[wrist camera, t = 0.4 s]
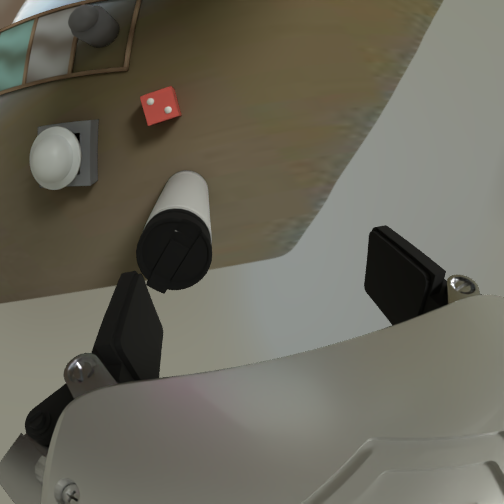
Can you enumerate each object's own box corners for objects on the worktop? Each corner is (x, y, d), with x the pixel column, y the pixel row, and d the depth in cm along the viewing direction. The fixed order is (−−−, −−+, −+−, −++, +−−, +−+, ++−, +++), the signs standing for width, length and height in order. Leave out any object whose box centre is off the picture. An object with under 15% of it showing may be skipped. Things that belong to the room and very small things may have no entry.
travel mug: (155, 200, 38) (121, 274, 21) (179, 161, 37) (156, 206, 19) (192, 221, 41) (186, 306, 23) (216, 184, 39) (228, 247, 21)
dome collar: (47, 125, 29) (37, 126, 27) (98, 119, 31) (90, 120, 29) (48, 182, 34) (39, 187, 31) (97, 180, 35) (90, 185, 33)
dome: (42, 128, 28) (16, 133, 22) (91, 122, 30) (69, 125, 24) (44, 183, 32) (19, 198, 26) (91, 181, 33) (70, 196, 27)
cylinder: (91, 21, 24) (64, 2, 15) (122, 17, 25) (100, -7, 16) (86, 49, 26) (55, 35, 17) (116, 45, 27) (91, 27, 18)
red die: (146, 98, 31) (139, 96, 28) (174, 89, 32) (170, 85, 28) (153, 124, 33) (147, 125, 30) (181, 115, 34) (179, 115, 30)
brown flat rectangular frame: (0, 30, 18) (-2, 30, 17) (143, -8, 23) (142, -9, 23) (-12, 99, 23) (-14, 99, 23) (127, 70, 29) (127, 70, 29)
